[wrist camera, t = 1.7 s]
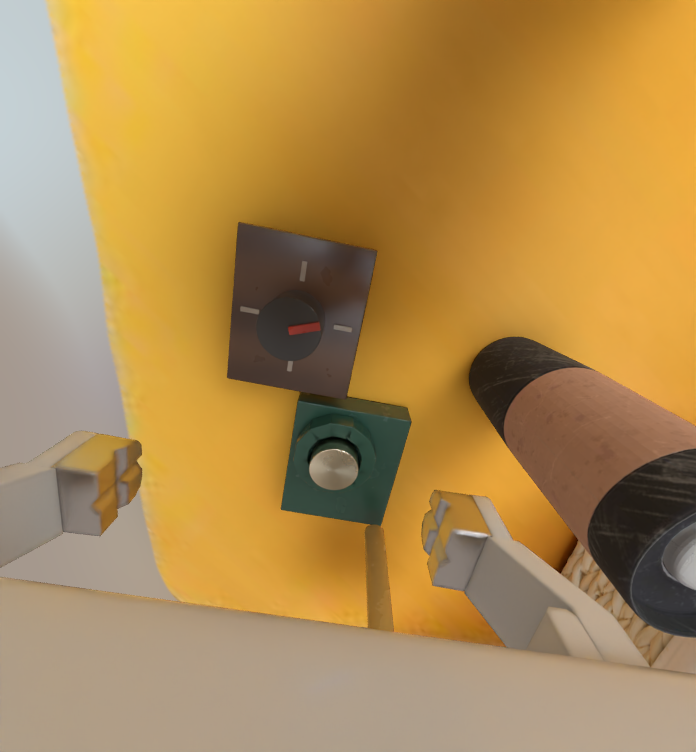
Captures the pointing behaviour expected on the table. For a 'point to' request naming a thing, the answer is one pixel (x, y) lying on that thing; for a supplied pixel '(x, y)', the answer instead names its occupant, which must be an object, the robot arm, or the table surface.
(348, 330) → the dimmer
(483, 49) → the table surface
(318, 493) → the lamp base
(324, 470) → the power button
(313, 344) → the dimmer knob
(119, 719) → the robot arm
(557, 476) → the travel mug
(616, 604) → the basket
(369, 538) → the desk lamp
